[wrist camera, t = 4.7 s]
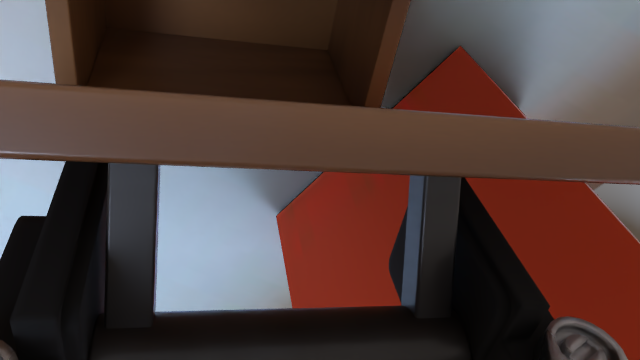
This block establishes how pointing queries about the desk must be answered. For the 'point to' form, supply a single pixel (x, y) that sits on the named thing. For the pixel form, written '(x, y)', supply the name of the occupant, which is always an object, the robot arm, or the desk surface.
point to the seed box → (230, 47)
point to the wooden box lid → (299, 155)
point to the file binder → (500, 202)
